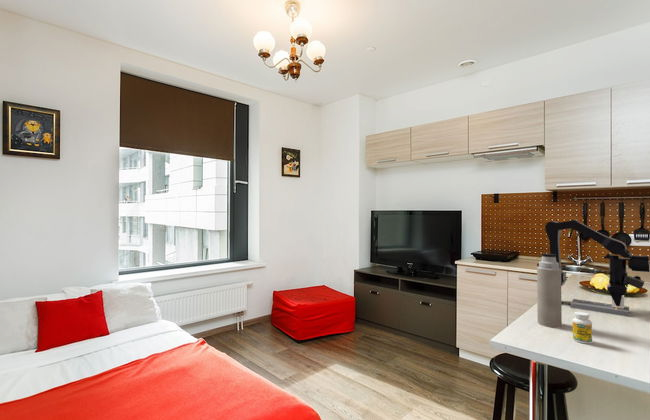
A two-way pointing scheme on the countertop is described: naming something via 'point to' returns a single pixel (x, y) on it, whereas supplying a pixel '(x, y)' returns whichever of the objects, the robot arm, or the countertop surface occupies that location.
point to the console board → (599, 307)
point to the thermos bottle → (549, 292)
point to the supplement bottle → (582, 328)
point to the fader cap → (620, 303)
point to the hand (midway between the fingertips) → (618, 304)
